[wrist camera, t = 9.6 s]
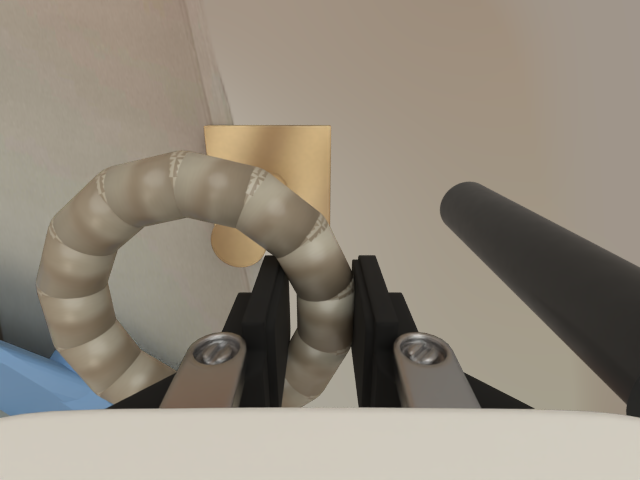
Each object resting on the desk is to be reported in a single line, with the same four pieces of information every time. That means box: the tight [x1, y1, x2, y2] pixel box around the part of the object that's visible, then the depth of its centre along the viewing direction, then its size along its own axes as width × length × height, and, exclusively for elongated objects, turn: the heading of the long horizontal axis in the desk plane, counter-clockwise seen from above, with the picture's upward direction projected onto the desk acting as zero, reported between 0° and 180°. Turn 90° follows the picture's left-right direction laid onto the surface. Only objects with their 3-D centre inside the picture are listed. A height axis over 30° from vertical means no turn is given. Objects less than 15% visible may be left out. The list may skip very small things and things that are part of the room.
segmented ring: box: [36, 151, 355, 408], centre depth 11 cm, size 10×10×2 cm
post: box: [204, 125, 331, 267], centre depth 23 cm, size 9×9×12 cm
